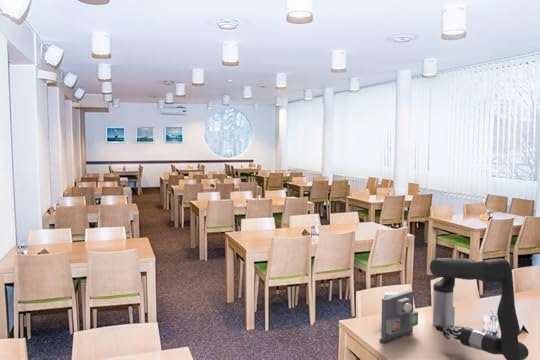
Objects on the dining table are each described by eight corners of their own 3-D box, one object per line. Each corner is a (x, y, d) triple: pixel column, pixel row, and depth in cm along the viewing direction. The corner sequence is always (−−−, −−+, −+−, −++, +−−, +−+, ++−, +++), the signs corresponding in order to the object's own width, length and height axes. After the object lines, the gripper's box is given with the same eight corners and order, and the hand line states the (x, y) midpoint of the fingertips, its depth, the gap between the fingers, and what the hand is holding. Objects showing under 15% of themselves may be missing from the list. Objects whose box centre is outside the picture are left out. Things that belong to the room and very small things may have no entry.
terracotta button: (398, 330, 215) (398, 321, 215) (392, 332, 213) (393, 323, 212) (393, 328, 217) (394, 319, 217) (388, 330, 215) (388, 321, 214)
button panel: (418, 334, 225) (419, 292, 224) (390, 346, 212) (391, 301, 211) (407, 330, 230) (408, 289, 229) (379, 342, 217) (380, 298, 216)
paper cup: (399, 324, 239) (399, 296, 238) (383, 322, 241) (384, 295, 240) (398, 318, 247) (398, 291, 246) (383, 317, 248) (383, 290, 247)
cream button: (411, 311, 218) (411, 302, 217) (406, 313, 215) (406, 304, 215) (407, 310, 220) (407, 301, 219) (401, 311, 217) (401, 303, 217)
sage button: (416, 322, 224) (416, 314, 224) (411, 324, 222) (411, 316, 221) (412, 321, 226) (412, 313, 226) (407, 323, 223) (407, 314, 223)
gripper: (483, 326, 204) (445, 315, 217) (466, 334, 196) (428, 322, 209) (482, 343, 204) (445, 331, 218) (466, 352, 196) (428, 339, 210)
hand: (437, 327), depth 213 cm, fingers closed
